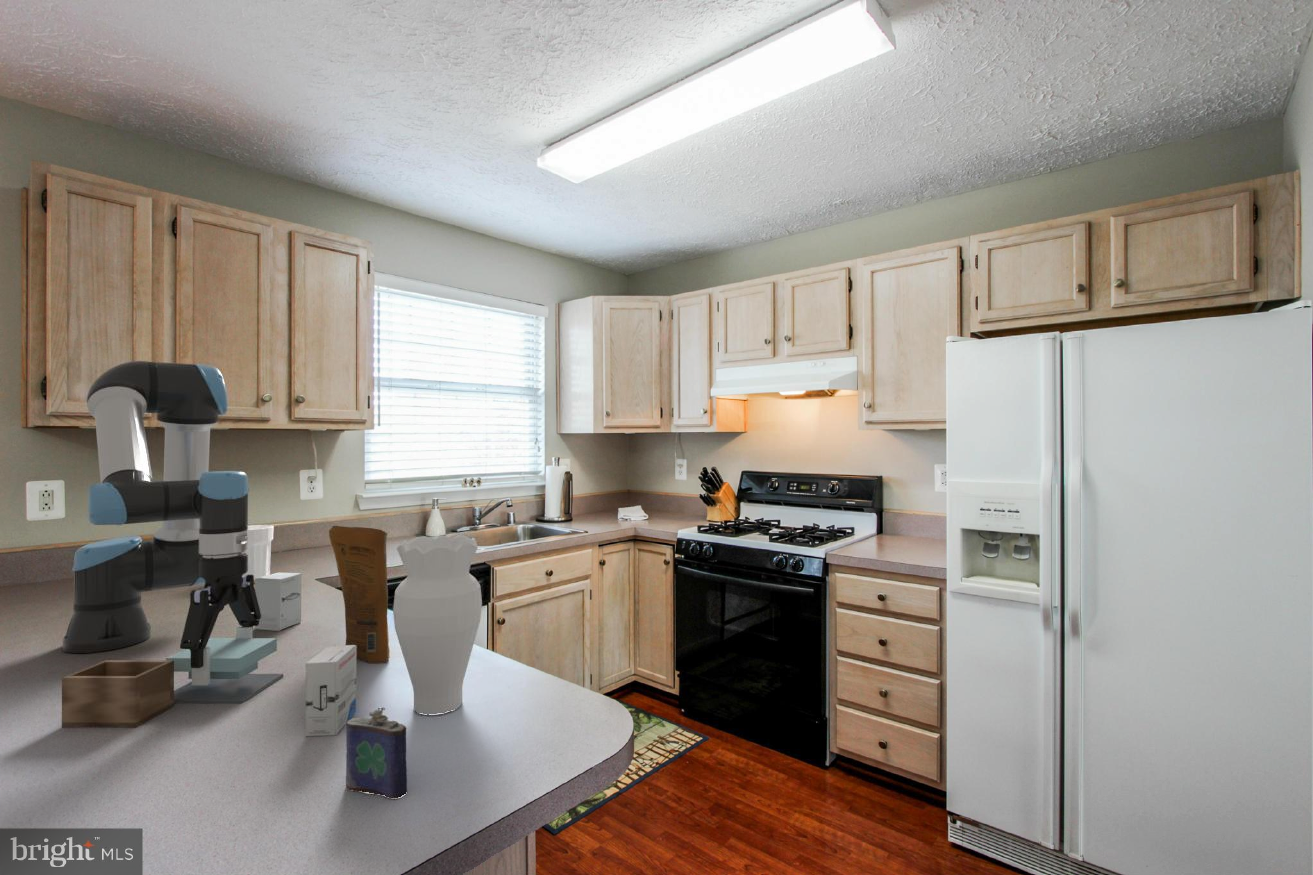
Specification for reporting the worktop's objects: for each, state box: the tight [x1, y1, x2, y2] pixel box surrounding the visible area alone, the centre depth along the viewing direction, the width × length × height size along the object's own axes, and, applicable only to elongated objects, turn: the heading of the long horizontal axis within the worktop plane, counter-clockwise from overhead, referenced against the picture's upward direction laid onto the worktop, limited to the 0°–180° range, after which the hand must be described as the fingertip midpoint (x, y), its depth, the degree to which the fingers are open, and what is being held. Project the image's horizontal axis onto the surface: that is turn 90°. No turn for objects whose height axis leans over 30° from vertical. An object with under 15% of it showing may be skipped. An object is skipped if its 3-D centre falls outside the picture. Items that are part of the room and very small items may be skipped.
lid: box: [165, 637, 278, 680], centre depth 117 cm, size 13×11×5 cm
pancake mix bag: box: [328, 525, 390, 664], centre depth 135 cm, size 7×19×28 cm, turn 53°
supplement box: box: [253, 572, 302, 632], centre depth 156 cm, size 7×7×13 cm
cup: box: [243, 524, 275, 584], centre depth 205 cm, size 11×11×17 cm
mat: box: [174, 673, 284, 704], centre depth 117 cm, size 15×12×1 cm
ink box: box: [305, 645, 357, 737], centre depth 103 cm, size 9×5×12 cm, turn 5°
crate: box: [61, 659, 175, 729], centre depth 106 cm, size 12×8×8 cm, turn 90°
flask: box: [345, 707, 408, 799], centre depth 84 cm, size 9×3×11 cm, turn 72°
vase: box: [392, 534, 483, 715], centre depth 110 cm, size 15×15×29 cm
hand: (223, 672), depth 117 cm, fingers closed on lid, 11 cm apart
